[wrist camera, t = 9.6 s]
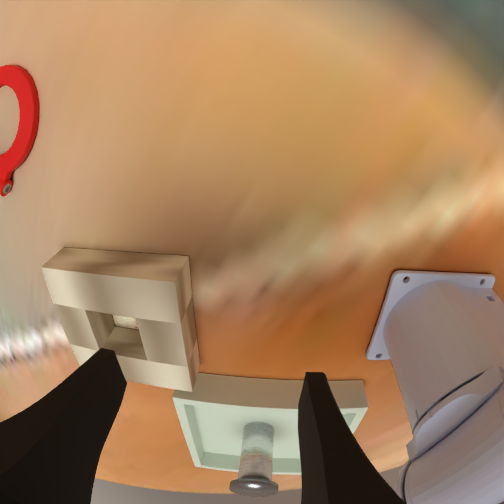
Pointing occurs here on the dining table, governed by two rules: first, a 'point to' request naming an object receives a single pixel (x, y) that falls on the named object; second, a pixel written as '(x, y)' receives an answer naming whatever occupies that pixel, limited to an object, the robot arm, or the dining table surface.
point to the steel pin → (256, 462)
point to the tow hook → (29, 118)
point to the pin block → (128, 311)
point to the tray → (253, 417)
